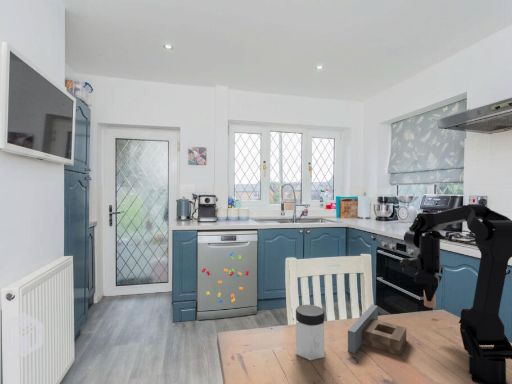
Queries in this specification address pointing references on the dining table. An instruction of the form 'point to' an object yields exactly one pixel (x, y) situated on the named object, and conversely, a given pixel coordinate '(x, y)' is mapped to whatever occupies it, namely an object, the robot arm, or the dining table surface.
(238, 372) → the dining table surface
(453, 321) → the dining table surface
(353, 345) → the bar
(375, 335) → the block
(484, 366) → the robot arm
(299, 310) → the jar
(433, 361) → the dining table surface
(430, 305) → the dowel
